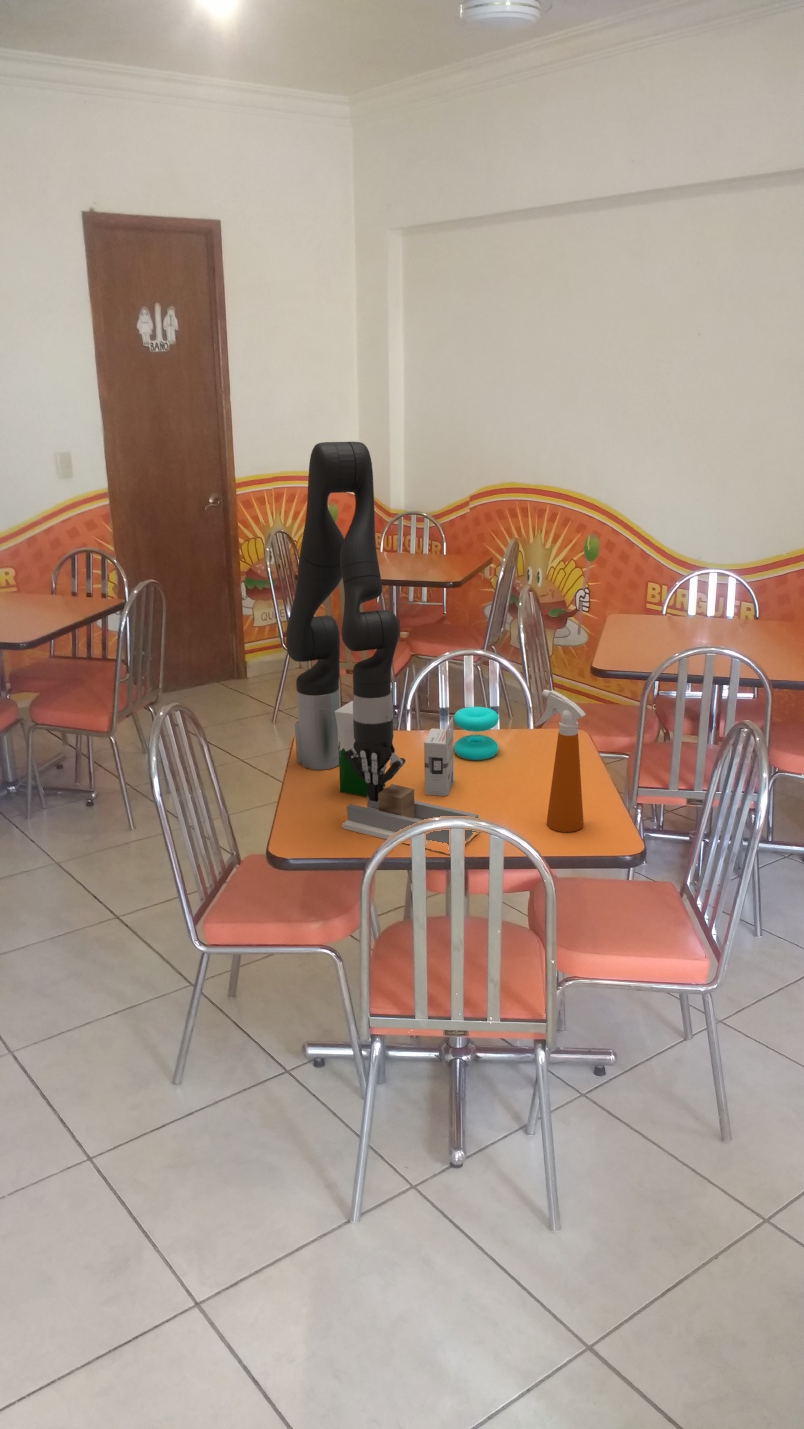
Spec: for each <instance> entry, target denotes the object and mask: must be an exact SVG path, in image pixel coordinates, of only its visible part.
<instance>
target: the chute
mask: <svg viewBox="0 0 804 1429" xmlns="http://www.w3.org/2000/svg"><path fill="white" fill-rule="evenodd" d="M366 800H367V801H366V803H367V804H366V807H365V806H362V805H357V804H352V803H349V804H348V805H346V815H347V816H346V818H347V820H346V821H344V822H342V823H341V824H342V829H344V830H347V831H350V832H355V833H360V834H363V835H367V836H371V837H375V838H378V839H379V838H380V839H384V840H387V838H388V837H389V836H391V835H393V834H394V833H395V832H397V831H399V830H400V829H403V828H405V827H407V826H409V825H412V824H414V823H417V822H419V821H422V820H424V819H428V818H433V817H440V816H470V817H475V818H478V819H479V814H478V813H477V814H476V813H471V812H468V811H465V810H464V811H463V810H459V809H454V808H449V807H445V806H441V805H436V804H431V803H427V802H423V801H418V800H415V799H414V807H415V818H409V817H405V816H401V815H396V814H392V813H388V812H383V811H379V802H378V801H377V802H375V801H370V800H369V797H368V796H367V797H366ZM472 832H476V833H479V832H477V831H472V830H465V841H466V843H467V841H468V840H469V839H470V838H471V836H472V835H473V833H472ZM479 834H480V833H479ZM430 840H432V841H437V842H442V843H444V842H445V843H447V844H448V851H449V830H441V831H433V832H430V833H428V834H426V846H427V841H430ZM467 844H468V843H467Z"/></svg>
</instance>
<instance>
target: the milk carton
mask: <svg viewBox="0 0 804 1429" xmlns="http://www.w3.org/2000/svg"><path fill="white" fill-rule="evenodd" d="M335 716H336V721H337V727H338V749H339V765H338V770H339V774H338V775H339V793H343V794H349V795H354V796H359V797H364V798H367V782H366V781H365V780H364V779H363V778H358V776H357V775H356V773H355V772H354V770H353V768H352V767H351V765H350V764H349V762H348V761H347V759H346V758H345V756H344V752H346V751H348V750H349V749H351V748H353V745H354V742H355V739H354V728H353V700H351V701H349V702H348V703H346V704H344V705H343V706H340V708H339V709H338V710H336V711H335ZM359 768H360V767H359ZM361 771H362V770H361ZM385 786H386V783H384V784H383V787H385Z"/></svg>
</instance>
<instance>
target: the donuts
mask: <svg viewBox="0 0 804 1429" xmlns="http://www.w3.org/2000/svg"><path fill="white" fill-rule="evenodd" d="M498 722H499V714H498V713H497V712H496V711H495V710H493V709H492V708H489V707H483V706H467V707H464V708H461V709H458V710H457V711H456V712H455V713H454V715H453V723H455V725H456V726H457V727H458V728H460V729H462V730H465V731H467V732H476V733H477V732H486V731H489V730H491V729H493V728H494V727H496V726H497V725H498ZM498 745H499V744H498V743H497V741H496V740H494V739H493V738H492V737H491V736H487V735H484V734H469V735H467V734H466V735H464V736H462V737H460V738H458V739H457V740H456V741H455V742H454V743H453V752H454V753H455V754H456V756H458V757H460V758H462V759H465V760H471V761H482V760H488V759H491V758H492V757H494V756H495V755H496V754H497V753H498V751H499V746H498Z"/></svg>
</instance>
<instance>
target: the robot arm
mask: <svg viewBox="0 0 804 1429" xmlns="http://www.w3.org/2000/svg"><path fill="white" fill-rule="evenodd" d="M307 479H308V481H307V498H306V512H305V518H304V519H305V521H304V527H303V533H302V539H301V545H300V551H299V557H298V558H299V559H298V568H297V575H296V577H297V579H296V585H295V592H294V597H293V602H292V606H291V609H290V614H289V618H288V622H287V627H286V632H285V633H286V635H285V644H286V645H285V646H286V650H287V654H288V656H289V657H290V658H291V660H293V661H294V662H299V663H301V662H303V663H305V662H312V661H316V663H315V664H314V665H313V666H312V667H310V668H309V669H308V670H306V671H304V672H302V673H300V674H299V675H298V676H297V677H296V681H295V683H296V685H295V687H296V700H297V701H296V702H297V718H298V719H297V720H298V721H296V722H295V723H294V733H295V734H294V735H295V752H296V754H295V755H296V763H297V764H299V765H301V766H302V767H303V768H306V769H310V770H328V769H329V770H330V769H333V768H336V767H339V749H338V727H337V721H336V716H335V711H336V710H338V709H339V708H341V706H340V705H341V704H340V702H341V701H340V684H339V682H340V676H341V673H340V670H341V668H340V667H341V666H340V660H341V659H340V656H341V649H340V648H341V639H342V643H343V644H344V645H345V647H346V648H347V649H348V650H349V651H351V652H363V651H373V650H375V652H374V654H373V655H371V656H370V657H367V658H366V659H362V660H360V661H358V662H356V663H355V664H354V665H353V668H352V683H353V684H352V685H353V687H352V688H353V699H352V701H353V728H354V739H355V742H354V745H353V748H351V749H349V750H348V751H346V752H344V756H345V758H346V759H347V761H348V762H349V764H350V765H351V767H352V768H353V770H354V772H355V773H356V775H357V776H358V778H363V779H364V780H365V781H366V782H367V796H368V797H369V800H370V801H375V802H377V801H378V793H379V792H381V791H382V790H384V786H383V784H384V783H385V784H386V783H387V782H388V781H390V780H392V779H393V778H394V776H395V775H396V774H397V772H399V770H401V768H402V767H403V766H404V765H405V764H406V759H405V758H404V757H399V756H398V755H397V753H395V752H396V750H395V747H394V744H393V741H394V706H393V705H394V704H393V699H392V683H391V682H392V679H391V677H392V674H391V673H392V667H393V661H394V656H395V652H396V649H397V646H398V642H399V637H400V636H399V635H400V622H399V619H398V618H397V615H396V614H395V613H394V612H393V611H391V610H389V609H381V610H380V609H379V610H371V611H370V610H369V611H360V607H361V605H362V604H363V603H366V602H369V601H372V600H375V599H377V598H379V597H380V596H382V593H383V584H382V583H383V582H382V576H381V571H380V565H379V559H378V553H377V545H376V527H375V523H376V522H375V517H376V516H375V497H374V496H375V491H374V472H373V461H372V458H371V454H370V450H369V448H368V446H366V444H365V443H364V442H359V441H325V442H319V443H316V444H315V445H314V446H313V448H312V450H311V454H310V458H309V465H308V477H307ZM333 493H335V494H336V493H353V494H354V502H355V504H354V505H355V507H354V513H353V517H352V520H351V523H350V525H349V526H348V527H349V528H348V530H347V532H346V534H345V537H344V535H343V532H342V531H341V529H340V528H339V526H338V525H337V523H336V521H335V520H334V518H333V516H332V514H331V511H330V509H329V503H328V502H329V496H330V495H331V494H333ZM341 581H342V584H343V590H344V591H343V592H344V605H343V606H344V608H343V617H342V623H341V637H340V629H339V626H338V622H337V620H335V618H334V617H333V616H331V615H327V614H326V615H320V616H319V615H317V616H315V615H316V612H317V610H318V609H319V608H320V607H321V605H322V604H323V603H324V602H325V601H326V600H327V599H328V598H329V596H331V594H332V593H333V592H334V591H335V589H336V588H337V587H338V586H339V584H340V583H341ZM340 638H341V639H340ZM388 763H389V768H388V769H387V764H388ZM359 767H360V768H359ZM386 769H387V770H386ZM361 770H362V771H361Z"/></svg>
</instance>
